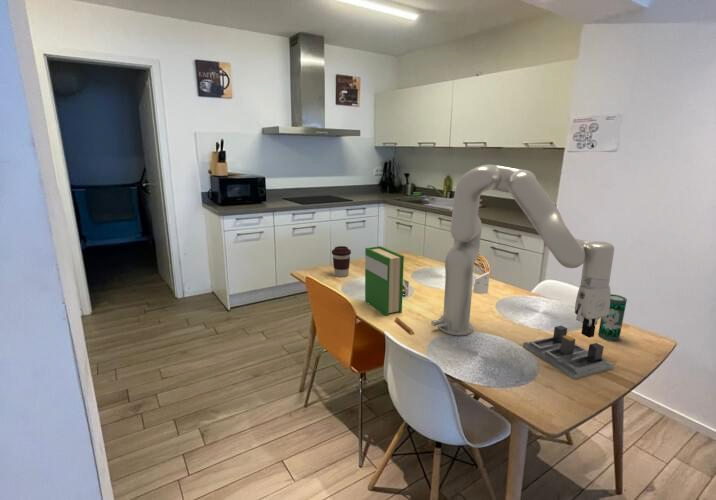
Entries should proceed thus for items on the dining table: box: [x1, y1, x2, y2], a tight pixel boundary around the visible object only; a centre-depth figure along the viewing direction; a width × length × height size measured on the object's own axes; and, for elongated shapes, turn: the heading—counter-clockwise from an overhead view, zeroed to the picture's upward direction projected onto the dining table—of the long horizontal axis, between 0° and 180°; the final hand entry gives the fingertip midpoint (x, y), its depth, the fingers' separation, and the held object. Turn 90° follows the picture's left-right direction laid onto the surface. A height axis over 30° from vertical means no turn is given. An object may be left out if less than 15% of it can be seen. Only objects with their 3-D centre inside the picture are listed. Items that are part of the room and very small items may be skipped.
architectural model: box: [402, 278, 410, 297], centre depth 176 cm, size 3×7×7 cm, turn 36°
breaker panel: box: [522, 325, 615, 380], centre depth 123 cm, size 16×20×7 cm
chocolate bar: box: [393, 316, 415, 336], centre depth 144 cm, size 3×12×2 cm, turn 23°
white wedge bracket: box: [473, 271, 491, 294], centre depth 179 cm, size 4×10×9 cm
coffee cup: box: [331, 245, 352, 278], centre depth 201 cm, size 10×10×15 cm
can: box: [597, 293, 628, 342], centre depth 135 cm, size 6×6×15 cm
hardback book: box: [364, 245, 405, 317], centre depth 160 cm, size 18×7×24 cm, turn 28°
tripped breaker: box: [560, 334, 576, 355], centre depth 122 cm, size 3×2×5 cm
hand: (587, 335), depth 124 cm, fingers closed
